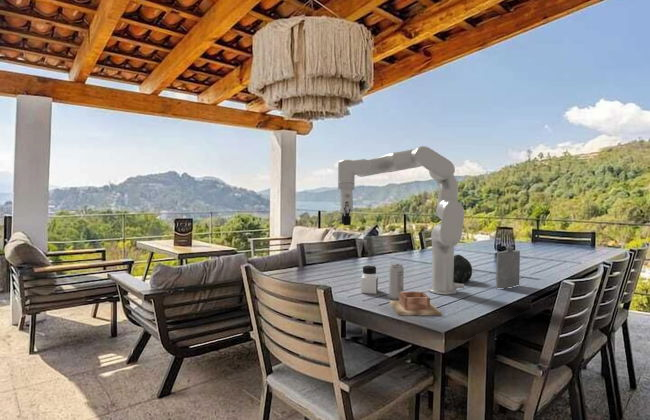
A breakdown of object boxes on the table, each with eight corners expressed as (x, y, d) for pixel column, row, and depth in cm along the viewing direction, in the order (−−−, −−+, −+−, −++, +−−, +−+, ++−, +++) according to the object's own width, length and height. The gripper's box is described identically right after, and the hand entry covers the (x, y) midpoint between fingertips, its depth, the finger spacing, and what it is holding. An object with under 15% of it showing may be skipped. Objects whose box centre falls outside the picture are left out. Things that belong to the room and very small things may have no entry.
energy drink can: (394, 295, 168) (394, 262, 167) (406, 298, 164) (406, 263, 163) (386, 298, 163) (386, 264, 163) (398, 301, 159) (398, 265, 159)
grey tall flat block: (514, 284, 190) (515, 245, 189) (522, 286, 187) (523, 245, 186) (494, 288, 182) (495, 247, 181) (502, 290, 178) (503, 248, 178)
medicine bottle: (376, 294, 171) (376, 267, 171) (360, 293, 173) (360, 267, 172) (377, 290, 178) (377, 264, 178) (362, 289, 180) (362, 264, 179)
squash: (454, 266, 210) (445, 247, 203) (480, 271, 199) (472, 252, 191) (443, 286, 204) (433, 267, 196) (469, 292, 192) (460, 273, 185)
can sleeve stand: (428, 303, 157) (428, 289, 156) (440, 315, 141) (441, 300, 140) (389, 303, 156) (390, 289, 156) (397, 315, 140) (398, 300, 140)
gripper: (356, 186, 165) (356, 225, 165) (352, 187, 182) (352, 223, 183) (339, 186, 165) (339, 225, 165) (337, 187, 182) (336, 223, 183)
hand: (346, 224), depth 174 cm, fingers open, 9 cm apart
